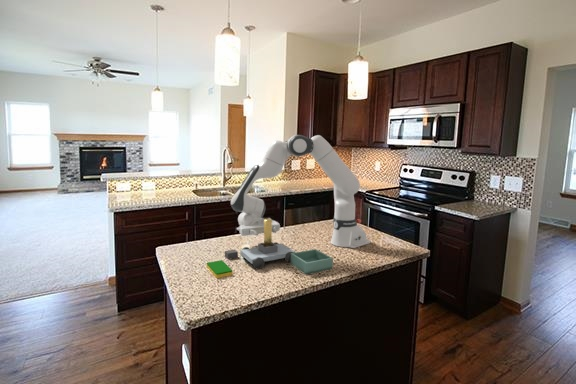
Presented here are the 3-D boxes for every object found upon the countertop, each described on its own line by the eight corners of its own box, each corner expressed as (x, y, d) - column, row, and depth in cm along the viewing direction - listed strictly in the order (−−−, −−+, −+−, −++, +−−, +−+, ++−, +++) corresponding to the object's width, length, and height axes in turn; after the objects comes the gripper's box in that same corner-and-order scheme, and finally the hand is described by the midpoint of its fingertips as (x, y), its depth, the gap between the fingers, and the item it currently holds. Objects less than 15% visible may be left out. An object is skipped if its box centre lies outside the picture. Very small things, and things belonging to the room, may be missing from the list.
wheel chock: (234, 255, 159) (234, 249, 159) (237, 257, 156) (237, 251, 155) (224, 257, 157) (224, 251, 156) (227, 259, 153) (227, 253, 153)
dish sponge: (222, 264, 147) (221, 259, 147) (232, 275, 136) (232, 270, 135) (206, 267, 144) (206, 262, 144) (216, 279, 132) (216, 273, 132)
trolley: (280, 251, 165) (280, 236, 164) (296, 261, 151) (296, 246, 150) (239, 258, 155) (239, 243, 154) (252, 270, 140) (252, 253, 139)
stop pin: (269, 249, 155) (269, 218, 152) (272, 251, 151) (273, 220, 149) (262, 250, 153) (262, 219, 150) (265, 252, 150) (265, 220, 147)
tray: (315, 259, 155) (315, 248, 154) (332, 268, 143) (332, 258, 142) (290, 263, 148) (290, 253, 147) (306, 274, 136) (306, 263, 136)
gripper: (235, 221, 159) (245, 228, 147) (272, 217, 169) (285, 223, 157) (235, 234, 160) (245, 242, 148) (272, 229, 170) (284, 236, 158)
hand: (266, 232), depth 153 cm, fingers open, 8 cm apart
